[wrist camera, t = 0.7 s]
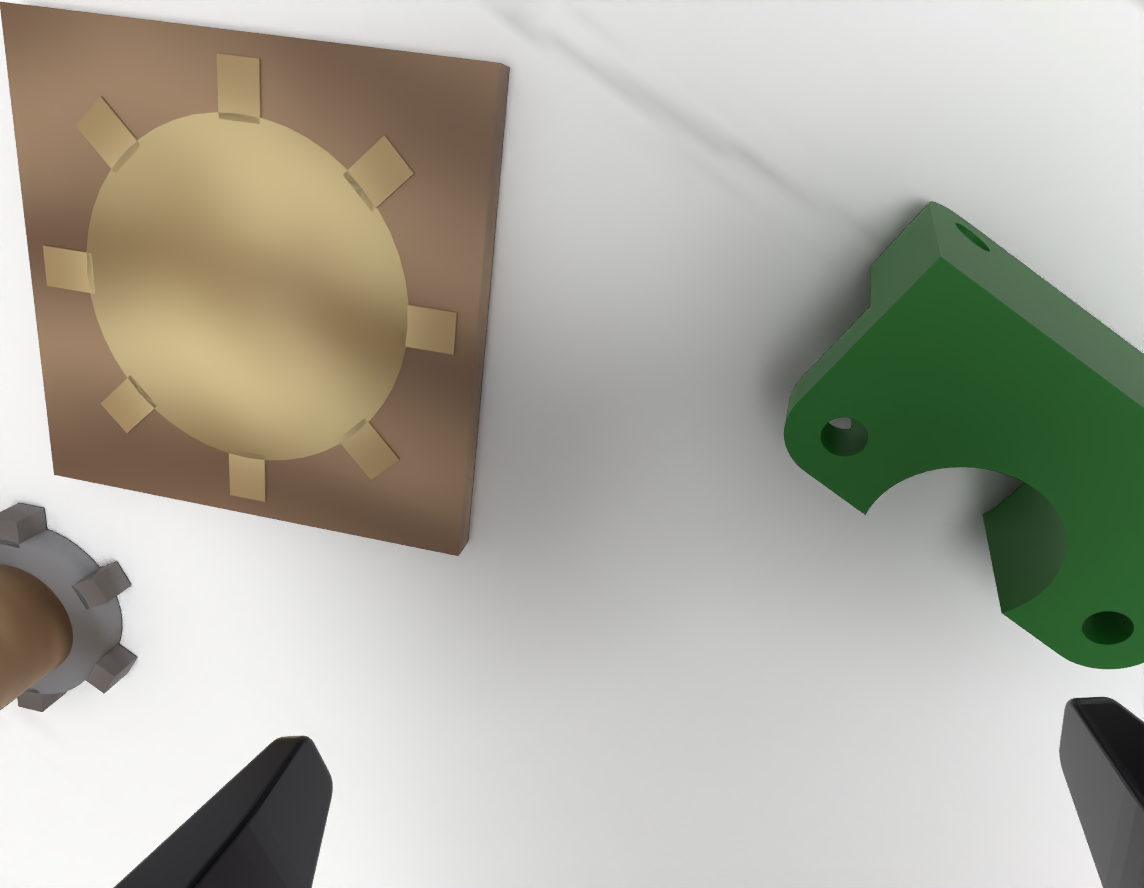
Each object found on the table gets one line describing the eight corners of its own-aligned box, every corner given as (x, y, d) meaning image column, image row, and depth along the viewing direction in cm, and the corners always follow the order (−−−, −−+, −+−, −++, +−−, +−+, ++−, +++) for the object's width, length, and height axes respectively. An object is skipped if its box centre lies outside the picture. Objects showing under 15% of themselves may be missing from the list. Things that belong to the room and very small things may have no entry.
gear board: (467, 541, 26) (457, 557, 25) (76, 464, 28) (51, 475, 26) (509, 67, 21) (498, 62, 20) (29, 8, 23) (-4, 0, 22)
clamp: (835, 342, 26) (713, 390, 19) (971, 201, 23) (879, 201, 16) (1116, 613, 23) (1082, 777, 16) (1319, 496, 20) (1377, 642, 13)
